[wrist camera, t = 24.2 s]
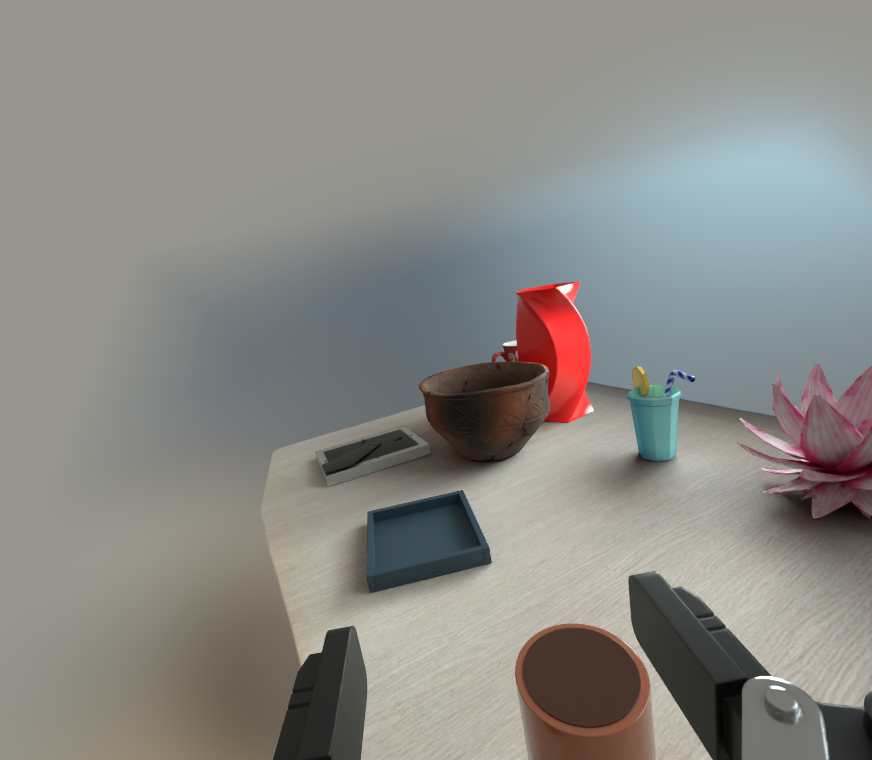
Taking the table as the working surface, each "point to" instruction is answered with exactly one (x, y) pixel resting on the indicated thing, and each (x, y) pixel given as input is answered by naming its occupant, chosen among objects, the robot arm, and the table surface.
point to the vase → (556, 346)
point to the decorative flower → (825, 443)
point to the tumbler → (584, 696)
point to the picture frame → (370, 454)
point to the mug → (508, 352)
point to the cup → (655, 415)
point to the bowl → (488, 406)
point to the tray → (423, 541)
